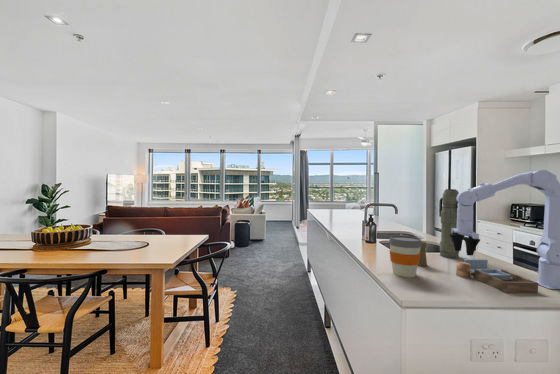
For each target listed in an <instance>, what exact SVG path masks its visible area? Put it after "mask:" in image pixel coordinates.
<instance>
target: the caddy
mask: <svg viewBox="0 0 560 374" xmlns="http://www.w3.org/2000/svg"><path fill="white" fill-rule="evenodd" d="M500 271H502V272H504V273H507V274H509V275H510V277H511V278H513V280H500V279H498V278H495V277H493V276H491V275H488V274H486V273H484V272H481V271H479V270H477V269H474V273H473V279H476V280H477V281H480V282H482V283H484V284H486V285H488V286H491V287H492V288H494V289H497V290H498V291H501V292H503V293H504V294H505V293H507V294H508V293H509V294H510V293H511V294H513V293H514V294H517V293H521V294H523V293H528V294H531V293H532V294H535V293H536V294H537V293H539V284H538V283H537V282H535V281H536V280H531V279H530V278H526V277H523V276H521V275H518V274H516V273H513V272H510V271H508V270H505V269H500Z"/></svg>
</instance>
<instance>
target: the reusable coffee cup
mask: <svg viewBox="0 0 560 374" xmlns="http://www.w3.org/2000/svg"><path fill="white" fill-rule="evenodd" d="M388 240H389V241H388V244H389V248H390V249H389V258H390V262H391V266H392V274H393V273H394V275H396V276H398V277H402V276H403V278H414V277H416V276H417V271H418V267H419V266H418V264H419V260H420V254H421V253H420V248H421V246H422V245H421V241H422V239H421V238H419V237H417V236H412V235H399V234H398V235H391V236H390V237H389V239H388Z"/></svg>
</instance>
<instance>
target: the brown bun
mask: <svg viewBox="0 0 560 374" xmlns="http://www.w3.org/2000/svg"><path fill="white" fill-rule="evenodd" d="M470 268H471V264H469V263H465V262H464V261H457V262H456V268H455V270H456V271H455V276H457V277H461V278H470V277H471V272H470Z"/></svg>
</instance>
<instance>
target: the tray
mask: <svg viewBox="0 0 560 374" xmlns="http://www.w3.org/2000/svg"><path fill="white" fill-rule="evenodd" d="M463 262H465V263H469V264H471V268H470V273H472V274H474V269H477V270H479V271H481V272H484V273H486V274H488V275H491V276H493V277H495V278H498V279H500V280H513V278H511V277H510V275H509V274H507V273H504V272H502V271H501V270H499V269H496V268H489V267H488V264H489V263H488V259H486V258H485V259H484V258H481V259H479V258H476V259H475V258H472V259H471V258H468V259H467V258H464V259H463Z"/></svg>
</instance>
